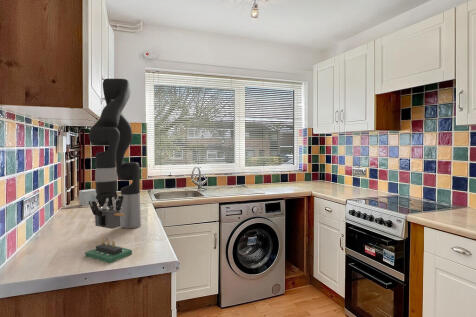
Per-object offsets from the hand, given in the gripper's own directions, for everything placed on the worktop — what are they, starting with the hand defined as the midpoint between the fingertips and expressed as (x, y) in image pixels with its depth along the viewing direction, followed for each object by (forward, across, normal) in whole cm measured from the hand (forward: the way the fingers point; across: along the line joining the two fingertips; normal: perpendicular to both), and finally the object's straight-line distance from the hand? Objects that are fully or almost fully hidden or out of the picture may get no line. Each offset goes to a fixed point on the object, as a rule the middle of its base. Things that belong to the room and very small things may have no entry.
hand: (107, 224), depth 112 cm
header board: (+12, 0, 0) cm, 12 cm away
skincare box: (+11, -57, -97) cm, 113 cm away
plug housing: (+1, 0, +2) cm, 2 cm away
